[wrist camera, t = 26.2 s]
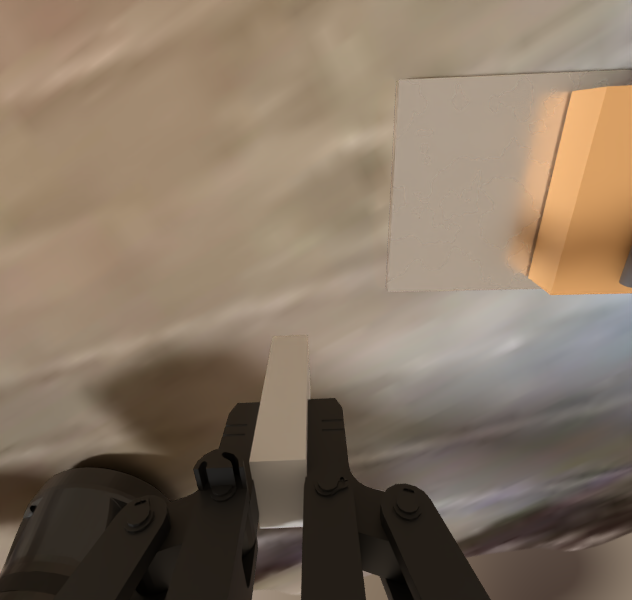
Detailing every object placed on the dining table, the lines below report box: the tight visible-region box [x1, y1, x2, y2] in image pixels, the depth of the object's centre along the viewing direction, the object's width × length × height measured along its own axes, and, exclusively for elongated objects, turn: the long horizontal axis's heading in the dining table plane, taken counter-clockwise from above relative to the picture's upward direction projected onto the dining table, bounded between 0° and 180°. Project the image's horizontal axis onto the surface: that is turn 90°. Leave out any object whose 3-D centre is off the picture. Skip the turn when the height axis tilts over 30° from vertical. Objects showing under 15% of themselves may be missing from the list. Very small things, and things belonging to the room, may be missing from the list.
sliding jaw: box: [528, 85, 632, 295], centre depth 22 cm, size 12×6×5 cm, turn 2°
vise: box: [386, 69, 632, 292], centre depth 22 cm, size 14×28×6 cm, turn 92°
